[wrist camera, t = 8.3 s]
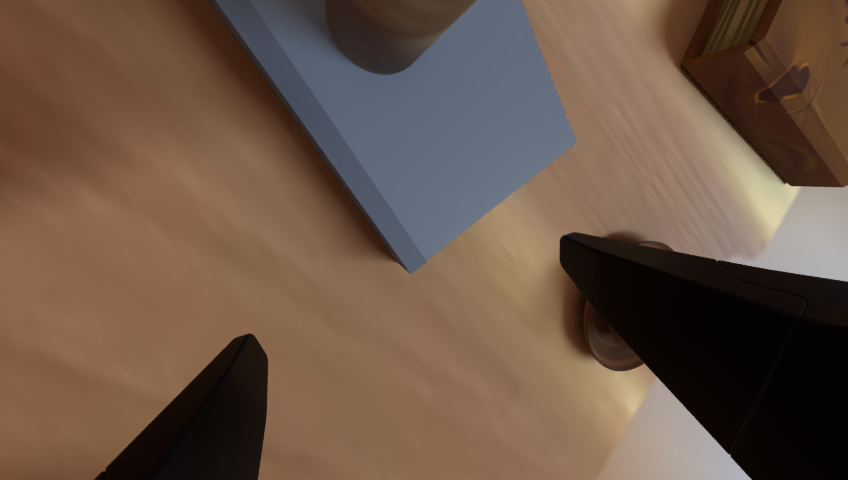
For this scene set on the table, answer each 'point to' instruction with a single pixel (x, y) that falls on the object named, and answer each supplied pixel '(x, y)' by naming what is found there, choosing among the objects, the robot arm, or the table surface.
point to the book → (414, 115)
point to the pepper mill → (390, 29)
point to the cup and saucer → (611, 335)
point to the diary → (780, 81)
